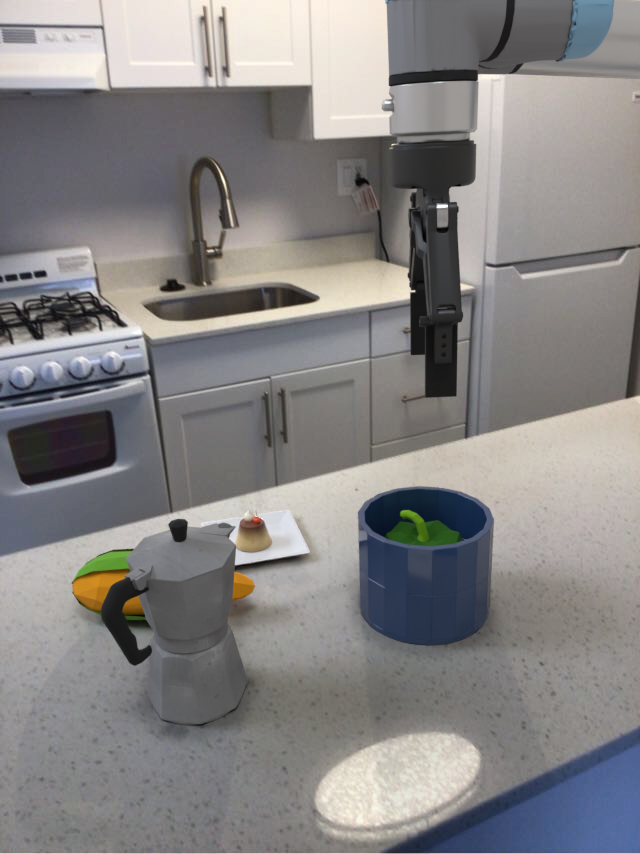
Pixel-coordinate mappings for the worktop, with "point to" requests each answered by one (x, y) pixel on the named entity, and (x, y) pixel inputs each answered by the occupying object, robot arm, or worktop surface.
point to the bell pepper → (422, 532)
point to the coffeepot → (183, 621)
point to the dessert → (264, 537)
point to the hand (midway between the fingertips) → (431, 373)
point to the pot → (425, 567)
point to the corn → (113, 568)
